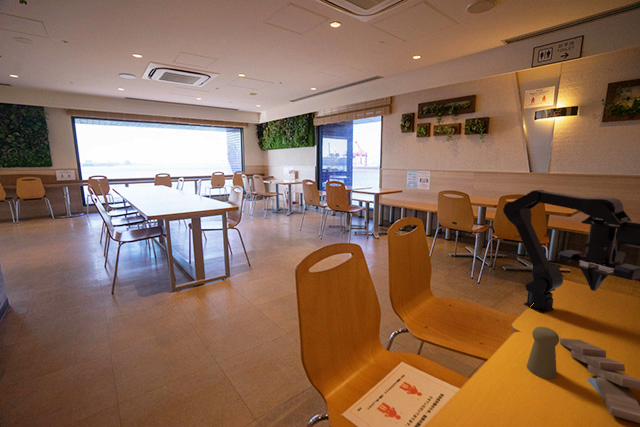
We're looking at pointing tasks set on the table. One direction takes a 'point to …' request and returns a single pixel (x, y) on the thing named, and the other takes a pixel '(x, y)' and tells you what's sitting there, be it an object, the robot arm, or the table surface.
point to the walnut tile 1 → (583, 347)
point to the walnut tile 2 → (599, 362)
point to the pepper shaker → (543, 353)
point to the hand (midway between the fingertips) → (593, 290)
